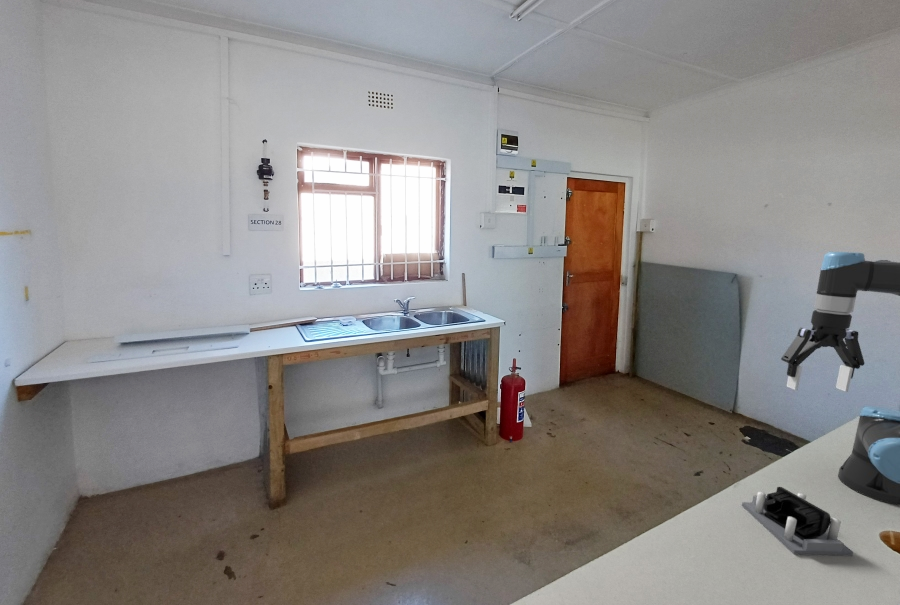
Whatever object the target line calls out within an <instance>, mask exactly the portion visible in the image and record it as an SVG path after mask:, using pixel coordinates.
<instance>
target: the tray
mask: <svg viewBox="0 0 900 605" xmlns="http://www.w3.org/2000/svg"><path fill="white" fill-rule="evenodd" d="M796 495H797V496H799V497H800V498H802V499H804V500H806V499H807V495H806V494H805V493H802V492H797V494H796ZM766 496H767V494H766V493H765V492H763V491H757V494H756V495H753V496H752V500H751V501H752V502H749V501H747V502H743V501H742V503H741V507H742V508H744V509H745V510H746V511H747V513H749V514H750V515H751V516H752V517H753V518H754V519H755V520H757V522H759V523H760V524H761V525H762V527H764V528H765V529H766V530H767V531H768V532H769V533H771V535H773V536H774V537H775V538H776V539H777V541H779V542H780V543H781V544H782V545H783V546H784V547H785V548H786V549H787V550H788V551H789V552H791V553H792V555H805V556H806V555H807V556H810V555H811V556H813V555H814V556H839V557H840V556H841V557H853V555H854V551H853V550H851V549H850V548H849V547H848V546H847V545H845V544H844V542H842V540H840V539H838V537H839V534H840V529H841V528H840V527H841V524H842V521H841V520H840V519H838V518H836V517H831V522H830V525H829V528H828V530H827V531H826V532H825V533H824V534H823V535H821V536H819V537H817V538H814V539H804V540H802V539H800V538H799V537H797V536H795V535H794V532H795V527H796V522H797V520H796V519H795V518H793V517H790V516H789V517H788V518H787V523H786V528H783V527H781V526H780V525H778V524H777V523H775V522H774V521H772V520H771V519H769V518H767V517H766V516H765V512H766V511H765V504H767V503H771V502H773V501H774V499H771V500H767V499H766ZM806 501H807V500H806Z"/></svg>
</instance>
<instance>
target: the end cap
mask: <svg viewBox="0 0 900 605" xmlns="http://www.w3.org/2000/svg"><path fill="white" fill-rule="evenodd" d="M766 499H767V500H771V499H774V501H773V502H771V503H767V504H765V511H766V512H765V516H766V517H767V518H769V519H771V520H772V521H774V522H775V523H777V524H778V525H780V526H781V527H783V528H786V523H787V518H788V517H789V516H790V517H793V518H795V519H796V520H797V522H796V527H795V532H794V535H795V536H797V537H799V538H800V539H802V540H804V539H814V538H817V537H819V536H821V535H823V534H824V533H825V532H826V531H828V530H829V527H830V522H831V518H832V517H831V515H830V513H829V512H827V511H825V510H824V509H822V508H820V507H818V506H817V505H815V504H812V503H811V502H810V501H807V500H804V499H802V498H800V497H799V496H797V494H795V493H793V492H791V491H790V490H788V489H786V488H784V487H783V486H777V487H776V491H775V492H771V493H767V494H766Z"/></svg>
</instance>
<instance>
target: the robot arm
mask: <svg viewBox="0 0 900 605" xmlns="http://www.w3.org/2000/svg"><path fill="white" fill-rule="evenodd" d="M816 290H817V291H816V294H815V298H814V305H813V308H814V309H815V310H813V311H812V315H811V319H810V323H811V325H812V328H811V329H808V328H804V327H800V328H798V331H797V335H796V337H795V338H794V339H793V340H792V343H791V344H790V345H789V347H788V348H787V349H786V350H785V352H784V353H783V355H782V356H781V361H782V362H785V363H787V371H786V376H787V380H786V381H787V382H786V387H787V388H790V389H791V390H794V391H798V390H799V384H800V380H801V379H800V378H801V374H802V369H803V368H802V367H803V366H801V364H802V363H803V362H804V361H805V360H806V359H807V358H809V356H810V355H812V354H813V353H814V352H815V351H816V350H817V349H820V348H828V347H829V348H833V349H834V351H835V352H836V354H837V355H838V357H839V358H840V360H841V362H842V363H843V364H840V366H839V370H838V374H837V380H836V384H835V388H836V389H838V390H840V391H843V392H846V393H847V392H849V389H850V385H851V380H852V379H853V377H854V374H855V369H856V370H858V369H860V368H861V366H864V365H865V361H864V356H863V353H862V349H861V346H860V343H859V331H857V330H853V329H849V328H850V327H851V323H852V317H853V316H852V314H851V313H853V312H854V310H855V305H856V304H855V303H856V298H857V293H858V292H873V293H882V294H883V293H884V294H892V295H895V296H899V297H900V262H898V261H891V260H888V259H879V260H875V261H872V260H871V261H870V260H866V258H865V254H864V253H862V252H849V251H848V252H846V251H829V252H827V253H825V254H824V256H823V260H822V263H821V268H820V272H819V278H818V283H817V289H816ZM858 416H859V419H858V423H857V427H856V432H855V437H854V442H853V445H852V446H853V447H852V450H851V454H850V455H849V456H848V457H847V459H845V461H844V463H843V464H842V465H841V466H840V467H839V468H838V469H839V470H838V473H837V474H838V475H837V478H838V480H840V482H841V483H843V484H844V485H845V486H847V487H848V488H850V489H851V490H854V491H855V492H857V493H859V494H861V495H864V496H867V497H868V498H872V499H875V500H876V501H881V502H884V503H888V504H893V505H899V506H900V410H896V409H892V408H886V407H880V406H873V405H872V406H871V405H869V406H868V405H867V406H864V407H863V408H861V411H860V414H859V415H858Z"/></svg>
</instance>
